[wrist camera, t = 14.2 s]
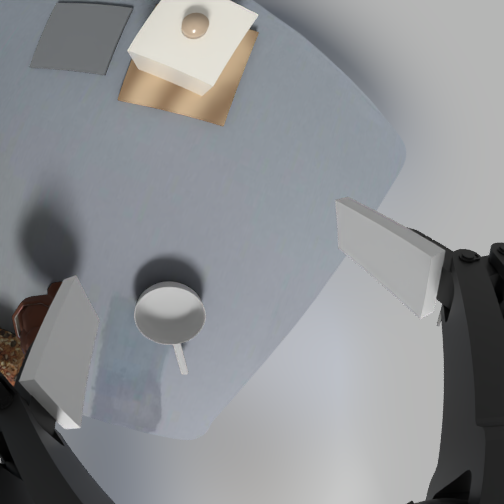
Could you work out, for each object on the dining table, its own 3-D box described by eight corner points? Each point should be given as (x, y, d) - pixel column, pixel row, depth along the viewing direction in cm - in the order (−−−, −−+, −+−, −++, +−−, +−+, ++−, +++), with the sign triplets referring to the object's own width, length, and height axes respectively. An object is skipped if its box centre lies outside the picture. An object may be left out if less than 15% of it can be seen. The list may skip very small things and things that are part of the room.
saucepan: (198, 269, 43) (200, 282, 40) (212, 355, 51) (215, 370, 48) (128, 280, 41) (125, 294, 38) (155, 364, 49) (155, 379, 46)
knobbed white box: (138, 69, 28) (125, 46, 19) (174, 12, 26) (178, -27, 16) (201, 96, 32) (215, 84, 22) (236, 39, 30) (263, 10, 20)
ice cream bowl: (40, 254, 35) (-1, 312, 22) (102, 285, 40) (83, 354, 27) (28, 306, 38) (-3, 368, 24) (84, 333, 42) (68, 401, 29)
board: (119, 100, 31) (117, 99, 29) (156, 7, 26) (156, 3, 25) (222, 125, 36) (223, 126, 35) (256, 34, 31) (258, 32, 30)
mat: (31, 67, 24) (29, 67, 24) (57, 4, 21) (56, 2, 20) (105, 75, 28) (104, 74, 28) (133, 9, 25) (132, 7, 25)
